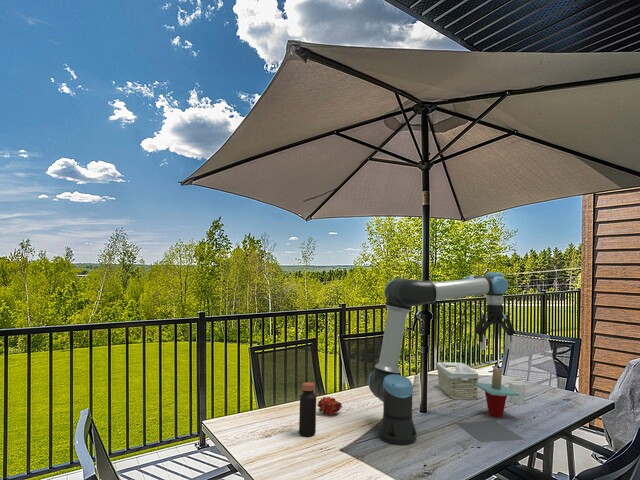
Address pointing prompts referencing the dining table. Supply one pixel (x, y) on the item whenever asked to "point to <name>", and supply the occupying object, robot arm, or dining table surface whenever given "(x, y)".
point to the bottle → (307, 411)
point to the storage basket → (458, 380)
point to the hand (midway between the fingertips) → (495, 349)
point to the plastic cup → (495, 404)
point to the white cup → (518, 388)
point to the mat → (489, 431)
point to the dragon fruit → (329, 405)
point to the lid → (496, 385)
